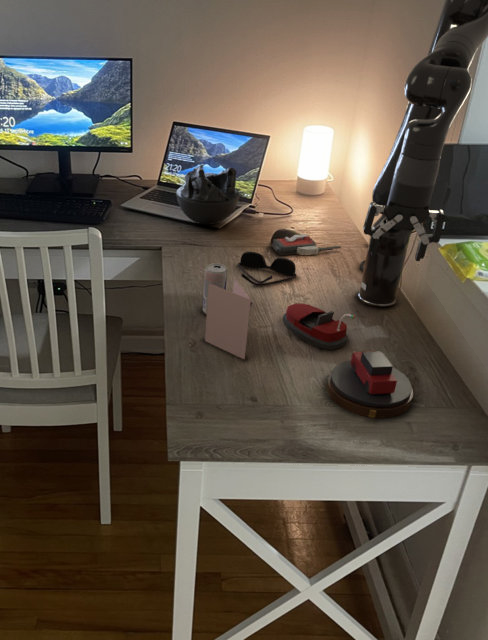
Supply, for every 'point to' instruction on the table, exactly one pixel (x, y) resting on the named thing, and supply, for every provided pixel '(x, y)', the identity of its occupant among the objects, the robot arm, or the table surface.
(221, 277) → the energy drink
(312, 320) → the bumper car
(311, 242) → the walkie-talkie
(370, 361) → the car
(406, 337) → the table surface
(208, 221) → the bowl of black rocks
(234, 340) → the greeting card
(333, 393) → the stand
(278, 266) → the sunglasses
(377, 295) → the robot arm
